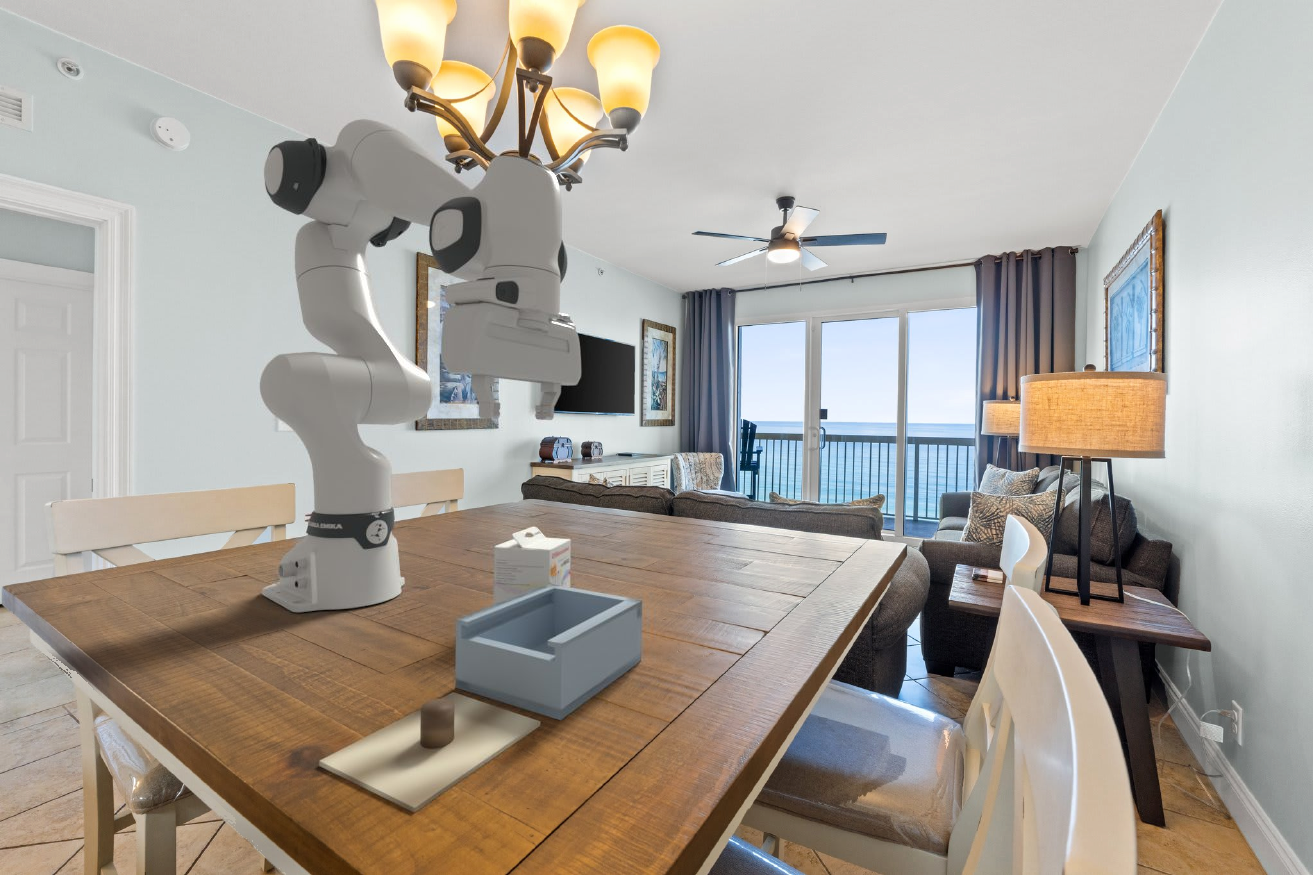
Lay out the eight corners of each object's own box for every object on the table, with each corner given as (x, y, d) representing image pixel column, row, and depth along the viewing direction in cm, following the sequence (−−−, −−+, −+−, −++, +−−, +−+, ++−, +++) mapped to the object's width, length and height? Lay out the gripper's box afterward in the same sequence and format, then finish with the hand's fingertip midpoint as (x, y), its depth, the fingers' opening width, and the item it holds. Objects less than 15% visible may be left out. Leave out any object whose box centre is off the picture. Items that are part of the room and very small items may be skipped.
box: (455, 687, 61) (456, 619, 61) (548, 639, 75) (549, 583, 75) (560, 720, 55) (561, 643, 54) (641, 660, 69) (642, 600, 69)
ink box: (548, 636, 76) (550, 537, 76) (491, 630, 78) (492, 533, 78) (571, 615, 85) (572, 526, 85) (518, 611, 87) (520, 523, 86)
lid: (319, 772, 47) (319, 724, 47) (453, 701, 59) (453, 663, 59) (414, 821, 41) (415, 767, 41) (540, 731, 54) (540, 689, 54)
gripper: (555, 318, 77) (552, 419, 77) (432, 283, 59) (429, 416, 59) (594, 315, 74) (591, 421, 75) (476, 278, 56) (473, 418, 56)
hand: (518, 419), depth 67 cm, fingers open, 8 cm apart
